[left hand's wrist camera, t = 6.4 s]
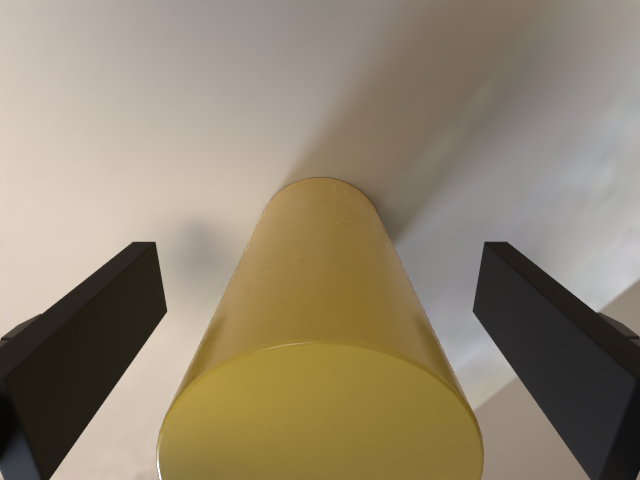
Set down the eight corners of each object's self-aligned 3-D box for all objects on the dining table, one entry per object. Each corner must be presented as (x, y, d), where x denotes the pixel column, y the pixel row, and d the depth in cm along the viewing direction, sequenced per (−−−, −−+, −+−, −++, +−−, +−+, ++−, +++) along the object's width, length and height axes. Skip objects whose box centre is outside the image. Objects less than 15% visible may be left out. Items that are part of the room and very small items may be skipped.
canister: (251, 180, 16) (118, 348, 5) (382, 173, 16) (506, 331, 5) (264, 295, 18) (186, 580, 7) (381, 290, 18) (469, 571, 7)
